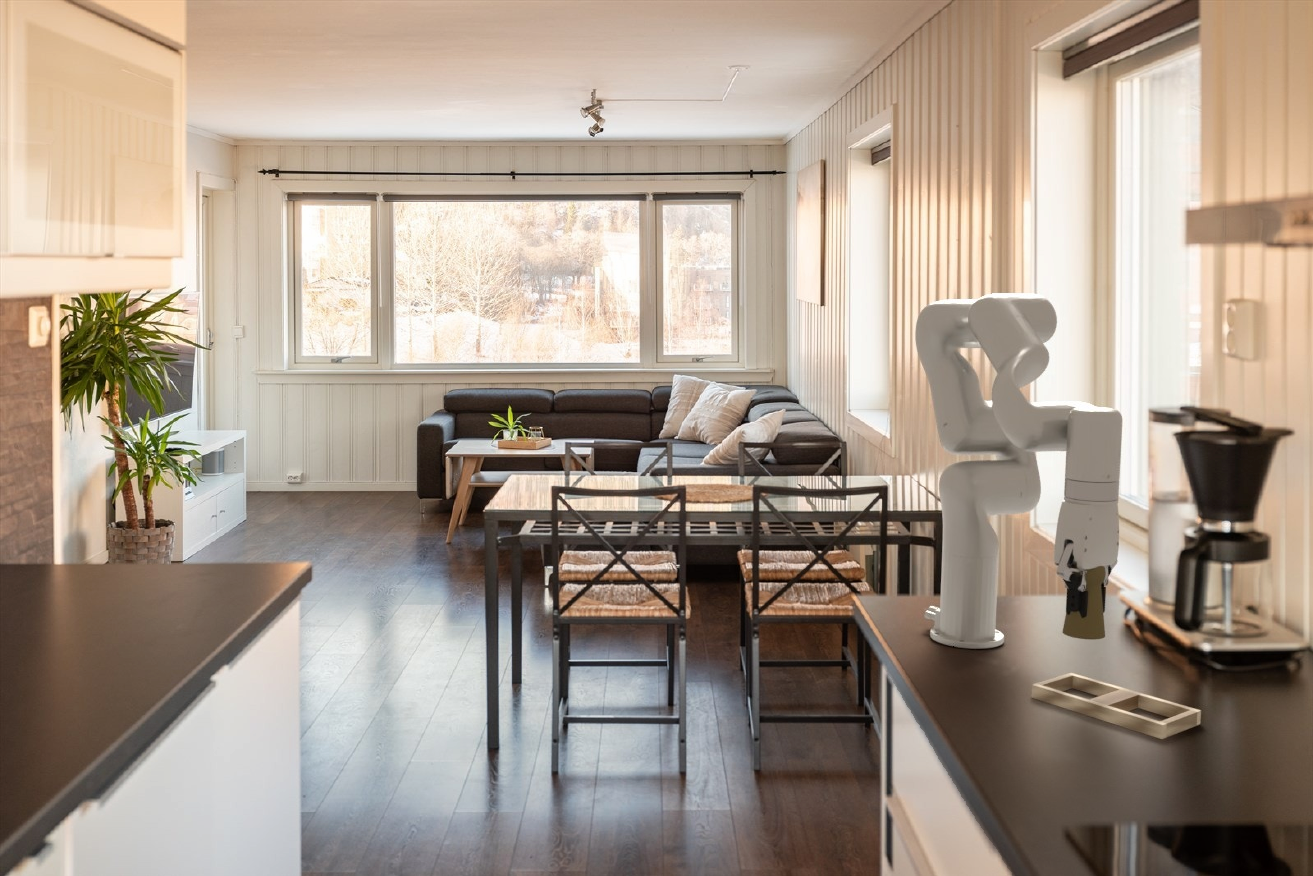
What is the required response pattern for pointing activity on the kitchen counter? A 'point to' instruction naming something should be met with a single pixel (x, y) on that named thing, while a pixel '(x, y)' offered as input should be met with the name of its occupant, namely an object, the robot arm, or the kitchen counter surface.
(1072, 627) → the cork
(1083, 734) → the kitchen counter surface
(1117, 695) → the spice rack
